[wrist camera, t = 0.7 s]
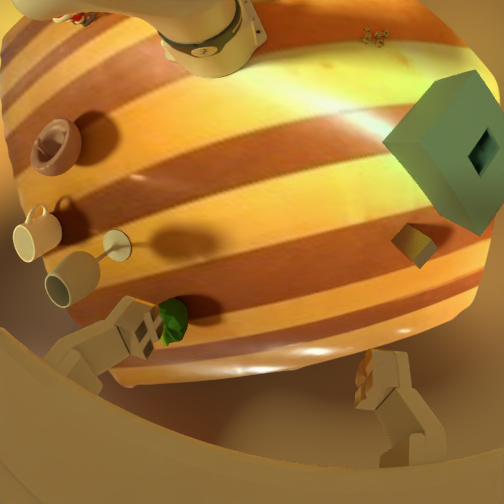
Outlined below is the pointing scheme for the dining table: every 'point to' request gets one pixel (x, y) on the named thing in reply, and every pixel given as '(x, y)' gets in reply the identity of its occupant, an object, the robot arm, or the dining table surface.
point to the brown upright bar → (414, 245)
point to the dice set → (379, 42)
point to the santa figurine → (76, 18)
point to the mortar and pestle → (56, 147)
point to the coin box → (455, 149)
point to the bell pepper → (173, 320)
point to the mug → (37, 235)
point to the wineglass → (83, 270)
